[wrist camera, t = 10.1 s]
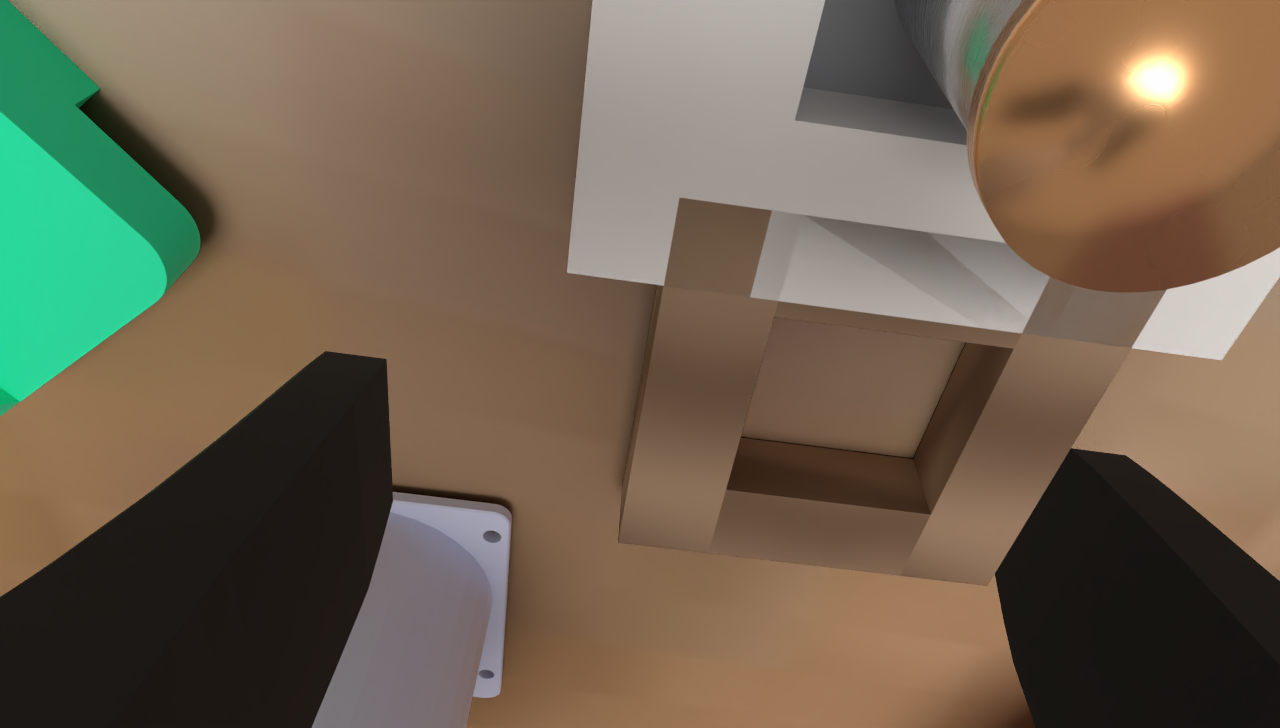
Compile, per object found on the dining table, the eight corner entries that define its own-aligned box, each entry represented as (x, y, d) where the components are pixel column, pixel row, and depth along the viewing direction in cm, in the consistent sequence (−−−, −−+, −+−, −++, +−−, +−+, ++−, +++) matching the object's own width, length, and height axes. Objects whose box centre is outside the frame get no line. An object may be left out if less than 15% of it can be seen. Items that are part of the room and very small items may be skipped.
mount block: (966, 529, 24) (987, 585, 23) (622, 488, 24) (618, 542, 22) (1136, 220, 18) (1180, 267, 17) (679, 154, 18) (679, 197, 16)
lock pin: (1071, 106, 17) (1263, 317, 11) (844, 69, 16) (922, 263, 11) (1202, -163, 14) (1549, -65, 8) (929, -214, 14) (1093, -148, 8)
